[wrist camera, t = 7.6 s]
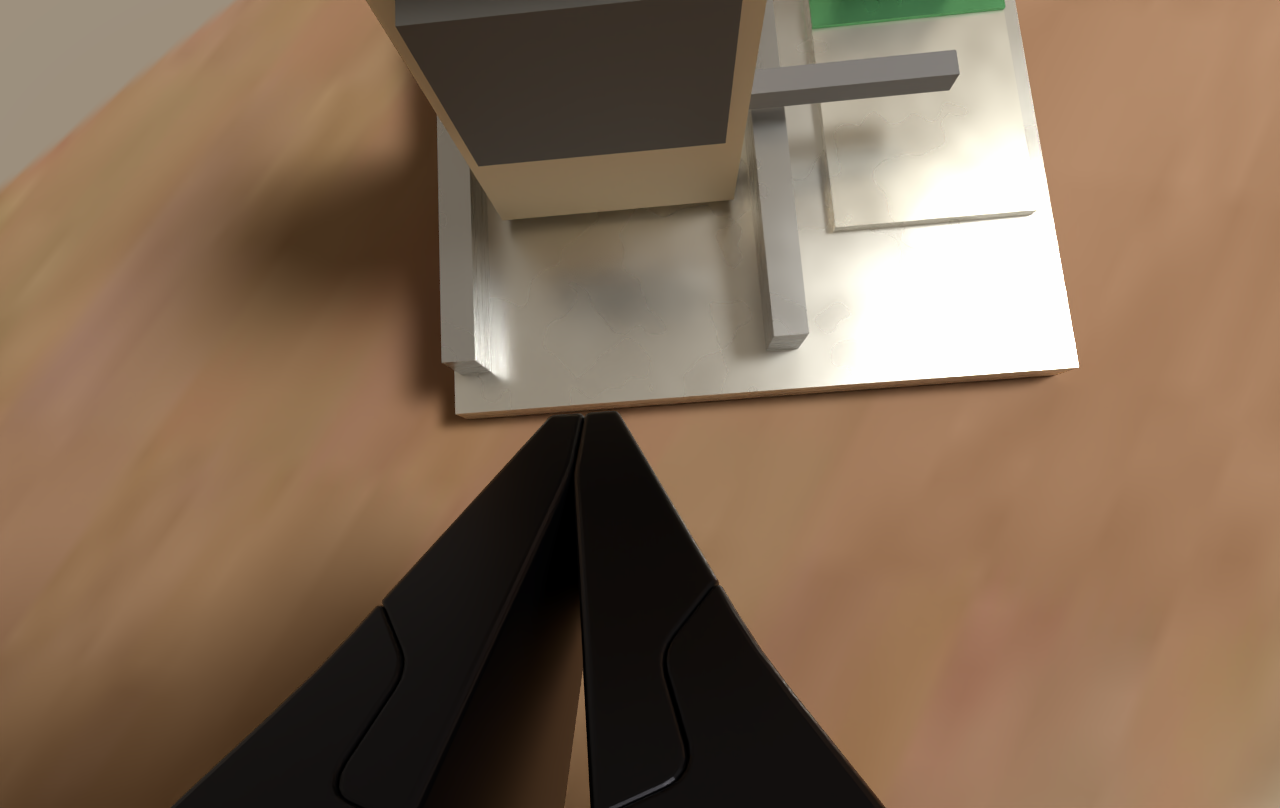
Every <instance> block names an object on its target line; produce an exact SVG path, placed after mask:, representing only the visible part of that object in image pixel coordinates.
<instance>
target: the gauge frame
mask: <svg viewBox="0 0 1280 808" xmlns="http://www.w3.org/2000/svg"><path fill="white" fill-rule="evenodd" d="M947 50H956V52H957V58H958V65H959V71H960V74H959V76H958V78H957V79H956V81H955V82H954V84H953V85H952V87H951V89H950V90H948V91H938V92H927V93H917V94H907V95H896V96H886V97H876V98H865V99H855V100H845V101H834V102H824V103H813V104H803V105H793V106H782V107H772V108H762V109H751V110H748V116H747V122H746V128H745V134H744V140H743V146H742V152H741V158H740V164H739V170H738V176H737V182H736V188H735V194H734V200H725V201H714V202H703V203H691V204H680V205H669V206H658V207H647V208H636V209H625V210H614V211H603V212H591V213H580V214H569V215H558V216H547V217H536V218H525V219H514V220H502V219H501V217H500V215H499V214H498V212H497V211H496V209H495V207H494V206H493V204H492V203H491V201H490V199H489V198H488V196H487V195H486V193H485V191H484V190H483V188H482V186H481V185H480V183H479V182H478V180H477V178H476V177H475V175H474V174H473V172H472V170H471V169H470V167H469V166H468V164H467V162H466V161H465V159H464V157H463V156H462V154H461V153H460V151H459V149H458V148H457V146H456V145H455V143H454V141H453V140H452V138H451V136H450V135H449V133H448V132H447V130H446V128H445V127H444V125H443V124H442V122H441V120H440V119H439V117H438V116H437V150H438V202H439V254H440V306H441V358H442V363H443V364H445V365H446V366H448V367H449V368H451V369H453V370H454V374H455V414H456V415H459V416H461V417H464V418H466V419H478V418H491V417H504V416H518V415H531V414H544V413H558V412H571V411H585V410H598V409H611V408H625V407H638V406H651V405H665V404H678V403H691V402H705V401H718V400H731V399H745V398H758V397H771V396H785V395H798V394H811V393H825V392H838V391H851V390H865V389H878V388H891V387H905V386H918V385H931V384H945V383H958V382H972V381H985V380H998V379H1012V378H1025V377H1038V376H1052V375H1058V374H1061V373H1064V372H1066V371H1069V370H1072V369H1075V368H1078V367H1079V365H1078V359H1077V354H1076V348H1075V342H1074V336H1073V331H1072V325H1071V319H1070V313H1069V308H1068V302H1067V296H1066V290H1065V285H1064V279H1063V273H1062V267H1061V262H1060V256H1059V250H1058V245H1057V239H1056V233H1055V227H1054V222H1053V216H1052V210H1051V204H1050V199H1049V193H1048V187H1047V181H1046V176H1045V170H1044V164H1043V158H1042V153H1041V147H1040V141H1039V135H1038V130H1037V124H1036V118H1035V113H1034V107H1033V101H1032V95H1031V90H1030V84H1029V78H1028V72H1027V67H1026V61H1025V55H1024V49H1023V44H1022V38H1021V32H1020V26H1019V21H1018V15H1017V9H1016V3H1015V0H767V2H766V8H765V14H764V20H763V26H762V32H761V38H760V44H759V50H758V56H757V62H756V68H755V70H756V69H766V68H776V67H786V66H797V65H807V64H817V63H827V62H837V61H847V60H857V59H867V58H877V57H887V56H897V55H907V54H917V53H927V52H937V51H947Z"/></svg>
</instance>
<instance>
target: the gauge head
mask: <svg viewBox="0 0 1280 808" xmlns="http://www.w3.org/2000/svg"><path fill="white" fill-rule="evenodd" d="M366 1H367V3H368V4H369V6H370V8H371V9H372V11H373V12H374V14H375V16H376V17H377V19H378V20H379V22H380V24H381V25H382V27H383V29H384V30H385V32H386V33H387V35H388V37H389V38H390V40H391V41H392V43H393V45H394V46H395V48H396V49H397V51H398V53H399V54H400V56H401V58H402V59H403V61H404V62H405V64H406V66H407V67H408V69H409V70H410V72H411V74H412V75H413V77H414V78H415V80H416V82H417V83H418V85H419V87H420V88H421V90H422V91H423V93H424V95H425V96H426V98H427V99H428V101H429V103H430V104H431V106H432V107H433V109H434V111H435V112H436V114H437V116H438V117H439V119H440V120H441V122H442V124H443V125H444V127H445V128H446V130H447V132H448V133H449V135H450V136H451V138H452V140H453V141H454V143H455V145H456V146H457V148H458V149H459V151H460V153H461V154H462V156H463V157H464V159H465V161H466V162H467V164H468V166H469V167H470V169H471V170H472V172H473V174H474V175H475V177H476V178H477V180H478V182H479V183H480V185H481V186H482V188H483V190H484V191H485V193H486V195H487V196H488V198H489V199H490V201H491V203H492V204H493V206H494V207H495V209H496V211H497V212H498V214H499V215H500V217H501V219H502V220H514V219H525V218H536V217H547V216H558V215H569V214H580V213H591V212H603V211H614V210H625V209H636V208H647V207H658V206H669V205H680V204H691V203H703V202H714V201H725V200H734V194H735V188H736V182H737V176H738V170H739V164H740V158H741V152H742V146H743V140H744V134H745V128H746V122H747V116H748V110H751V109H762V108H772V107H782V106H793V105H803V104H813V103H824V102H834V101H845V100H855V99H865V98H876V97H886V96H896V95H907V94H917V93H927V92H938V91H948V90H950V89H951V87H952V85H953V84H954V82H955V81H956V79H957V78H958V76H959V74H960V71H959V65H958V58H957V52H956V50H947V51H937V52H927V53H917V54H907V55H897V56H887V57H877V58H867V59H857V60H847V61H837V62H827V63H817V64H807V65H797V66H786V67H776V68H766V69H756V70H755V68H756V62H757V56H758V50H759V44H760V38H761V32H762V26H763V20H764V14H765V8H766V2H767V0H366Z"/></svg>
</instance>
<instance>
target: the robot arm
mask: <svg viewBox="0 0 1280 808" xmlns="http://www.w3.org/2000/svg"><path fill="white" fill-rule="evenodd" d="M382 605H383V607H384V608H383V607H382V606H376V607H375V608H374V609H373V611H372V612H371V613H370V614H369V615H368V616H367V617H366V618H365V619H364V620H363V621H362V623H361V624H360V625H359V626H358V627H357V628H356V629H355V630H354V631H353V632H352V633H351V634H350V636H349V637H348V638H347V639H346V640H345V641H344V642H343V643H342V644H341V645H340V646H339V647H338V648H337V649H336V650H335V651H334V652H333V653H332V654H331V655H330V656H329V657H328V658H327V660H326V661H325V662H324V663H323V664H322V665H321V666H320V667H319V668H318V669H317V670H316V671H315V672H314V673H313V674H312V675H311V676H310V677H309V678H308V679H307V680H306V681H305V682H304V683H303V684H302V685H301V686H300V687H299V688H297V689H296V690H295V691H294V692H293V693H292V694H291V695H290V696H289V697H288V698H287V699H286V700H285V701H284V702H283V703H282V704H281V705H280V706H279V707H278V708H277V709H276V710H275V711H274V712H273V713H271V714H270V715H269V716H268V717H267V718H266V719H265V720H264V721H263V722H262V723H261V724H260V725H259V726H258V727H257V728H256V729H254V730H253V731H252V732H251V733H250V734H249V735H248V736H247V737H246V738H245V739H244V740H243V741H241V742H240V743H239V744H238V745H237V746H236V747H235V748H234V749H233V750H232V751H231V752H230V753H229V754H227V755H226V756H225V757H224V758H223V759H222V760H221V761H220V762H219V763H218V764H217V765H216V766H214V767H213V768H212V769H211V770H210V771H209V772H208V773H207V774H206V775H205V776H204V777H203V778H201V779H200V780H199V781H198V782H197V783H196V784H195V785H194V786H193V787H192V788H191V789H190V790H189V791H187V792H186V793H185V794H184V795H183V796H182V797H181V798H180V799H179V800H178V801H177V802H176V803H174V804H173V805H172V806H171V807H170V808H564V803H565V796H566V789H567V781H568V774H569V767H570V759H571V752H572V745H573V737H574V730H575V723H576V715H577V708H578V700H579V693H580V686H581V678H582V671H583V675H584V694H585V712H586V731H587V749H588V767H589V786H590V804H591V808H885V806H884V805H883V804H882V803H881V801H880V800H879V799H878V798H877V796H876V795H875V794H874V793H873V791H872V790H871V789H870V788H869V786H868V785H867V784H866V783H865V781H864V780H863V779H862V778H861V776H860V775H859V774H858V773H857V771H856V770H855V769H854V768H853V766H852V765H851V764H850V763H849V761H848V760H847V759H846V758H845V756H844V755H843V754H842V753H841V751H840V750H839V749H838V748H837V746H836V745H835V744H834V743H833V741H832V740H831V739H830V738H829V736H828V735H827V734H826V733H825V731H824V730H823V729H822V728H821V726H820V725H819V724H818V723H817V721H816V720H815V719H814V718H813V716H812V715H811V714H810V713H809V711H808V710H807V709H806V708H805V706H804V705H803V704H802V703H801V701H800V700H799V699H798V698H797V696H796V695H795V694H794V693H793V691H792V690H791V689H790V687H789V686H788V685H787V683H786V682H785V680H784V679H783V678H782V676H781V675H780V674H779V672H778V671H777V670H776V668H775V667H774V666H773V664H772V663H771V662H770V660H769V659H768V658H767V656H766V655H765V654H764V652H763V651H762V650H761V648H760V646H759V645H758V643H757V642H756V640H755V639H754V637H753V636H752V634H751V633H750V631H749V629H748V628H747V626H746V625H745V623H744V622H743V620H742V619H741V617H740V616H739V614H738V612H737V611H736V609H735V607H734V606H733V604H732V602H731V601H730V599H729V597H728V596H727V594H726V592H725V591H724V589H723V587H722V586H720V585H719V582H718V579H717V578H716V576H715V574H714V573H713V571H712V569H711V568H710V566H709V564H708V563H707V561H706V559H705V557H704V556H703V554H702V552H701V551H700V549H699V547H698V546H697V544H696V542H695V541H694V539H693V537H692V536H691V534H690V532H689V530H688V529H687V527H686V525H685V524H684V522H683V520H682V519H681V517H680V515H679V514H678V512H677V510H676V508H675V507H674V505H673V503H672V502H671V500H670V498H669V497H668V495H667V493H666V492H665V490H664V488H663V487H662V485H661V483H660V481H659V480H658V478H657V476H656V475H655V473H654V471H653V470H652V468H651V466H650V465H649V463H648V461H647V459H646V458H645V456H644V454H643V453H642V451H641V449H640V448H639V446H638V444H637V443H636V441H635V439H634V438H633V436H632V434H631V432H630V431H629V429H628V427H627V426H626V424H625V422H624V421H623V419H622V417H621V416H620V414H619V413H618V412H616V411H604V412H591V413H588V414H587V415H586V416H585V417H584V416H583V415H582V414H579V413H577V414H563V415H553V416H551V417H550V418H548V419H547V421H546V422H545V423H544V424H543V425H542V426H541V427H540V428H539V429H538V430H537V431H536V433H535V434H534V435H533V436H532V437H531V438H530V439H529V440H528V441H527V442H526V443H525V445H524V446H523V447H522V448H521V449H520V450H519V451H518V452H517V453H516V454H515V456H514V457H513V458H512V459H511V460H510V461H509V462H508V463H507V464H506V465H505V466H504V468H503V469H502V470H501V471H500V472H499V473H498V474H497V475H496V476H495V477H494V479H493V480H492V481H491V482H490V483H489V484H488V485H487V486H486V487H485V488H484V489H483V491H482V492H481V493H480V494H479V495H478V496H477V497H476V498H475V499H474V500H473V501H472V503H471V504H470V505H469V506H468V507H467V508H466V509H465V510H464V511H463V512H462V514H461V515H460V516H459V517H458V518H457V519H456V520H455V521H454V522H453V523H452V524H451V526H450V527H449V528H448V529H447V530H446V531H445V532H444V533H443V534H442V535H441V537H440V538H439V539H438V540H437V541H436V542H435V543H434V544H433V545H432V546H431V547H430V549H429V550H428V551H427V552H426V553H425V554H424V555H423V556H422V557H421V558H420V559H419V561H418V562H417V563H416V564H415V565H414V566H413V567H412V568H411V569H410V570H409V572H408V573H407V574H406V575H405V576H404V577H403V578H402V579H401V580H400V581H399V582H398V584H397V585H396V586H395V587H394V588H393V589H392V590H391V591H390V592H389V593H388V594H387V596H386V597H385V598H384V599H383V600H382Z"/></svg>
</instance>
